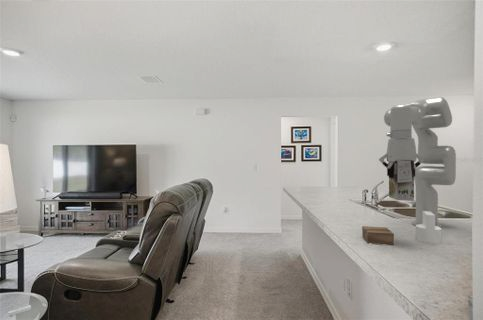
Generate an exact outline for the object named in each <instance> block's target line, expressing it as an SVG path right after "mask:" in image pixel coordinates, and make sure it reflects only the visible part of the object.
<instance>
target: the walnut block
mask: <svg viewBox="0 0 483 320" xmlns="http://www.w3.org/2000/svg"><path fill="white" fill-rule="evenodd" d="M361 235H362V238H363V240H364V241H365V242H366V243H367V244H369V243H372V244H371V245H383V244H387V245H388V246H394V245H395V233H394V232H393V231H391V230H390V229H389V228H388V227H386V226H385V227H383V226H382V227H381V226H365V225H362V233H361ZM387 245H386V246H387Z"/></svg>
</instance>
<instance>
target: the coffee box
mask: <svg viewBox="0 0 483 320" xmlns="http://www.w3.org/2000/svg"><path fill="white" fill-rule="evenodd" d="M414 164H415V162H414V161H413V160H402V161H395V162H394V163H393V164H392V166H391V169H392V178H389V177H388V190H389V191H388V197H389V198H390V199H394V200H397V201H411V202H412V201H415V180H414Z"/></svg>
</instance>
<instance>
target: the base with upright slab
mask: <svg viewBox="0 0 483 320" xmlns="http://www.w3.org/2000/svg"><path fill="white" fill-rule="evenodd" d="M442 230H443V229H442V227H441V228H440V227H437V226H435V215H434V214H433V213H432V212H429V211H422V224H418V225H416V226H415V239H416V240H417V241H418V242H421V243H424V244H430V245H440V244H442V241H443V240H442V239H443V237H442V236H443V235H442Z"/></svg>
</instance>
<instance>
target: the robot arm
mask: <svg viewBox="0 0 483 320" xmlns="http://www.w3.org/2000/svg"><path fill="white" fill-rule="evenodd" d="M383 121H384V124H385V125H386V126H388V127H390V132H388V133H386V137H389V139H388V141H387V146H386V153H385V154H384V155H382V156H381V157H380V158H379V159H378V161H379V162H380V163H381V165H383V166H384V167H385V168H386V176H387V177H388V179H389V178H392V169H391V166H392V164H393V163H394V162H395V161H402V160H413V161H414V187H415V220H413V221H412V222H411V225H413V226H415V227H416V225H418V224H422V211H429V212H432V213H433V214H434V215H435V226H437V227H440V228H442V224H440V223H439V220H438V219H439V217H438V216H439V210H438V209H439V202H438V201H439V199H438V198H439V197H438V195H439V193H438V192H437V190H436V189H435V188H434V186H435V185H436V186H437V185H438V186H452V185H454V184H455V181H456V179H457V178H456V176H457V175H456V174H457V173H456V172H457V171H456V169H457V167H456V165H457V162H456V161H457V154H456V150H455V148H454V147H453V146H452V145H438V140H439V139H438V135H437V134H436V132H434V131H433V130H432V129H440V128H447V127H449V126H451V124H452V123H453V116H452V112H451V109H450V105H449V103H448V101H447V100H446V99H445V98H444V97H442V96H437V97H432V98H424V99H418V100H416V101H414V102H411V103H407V104H400V105H394V106H392V107H391V108H390V109H387V110H386V112H385V113H384V115H383ZM412 128H413V129H412ZM412 130H413V131H414V133H416V136H417V141H418V142H417V146H416V141H415V138H414V137H413V135H412V133H413V132H412ZM416 147H417V148H416ZM385 159H386V161H387V162H388V163H387V162H386V161H385ZM417 160H418V161H417ZM421 164H426V165H423V166H420V165H421ZM430 165H431V166H430ZM434 165H443V166H434Z"/></svg>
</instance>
